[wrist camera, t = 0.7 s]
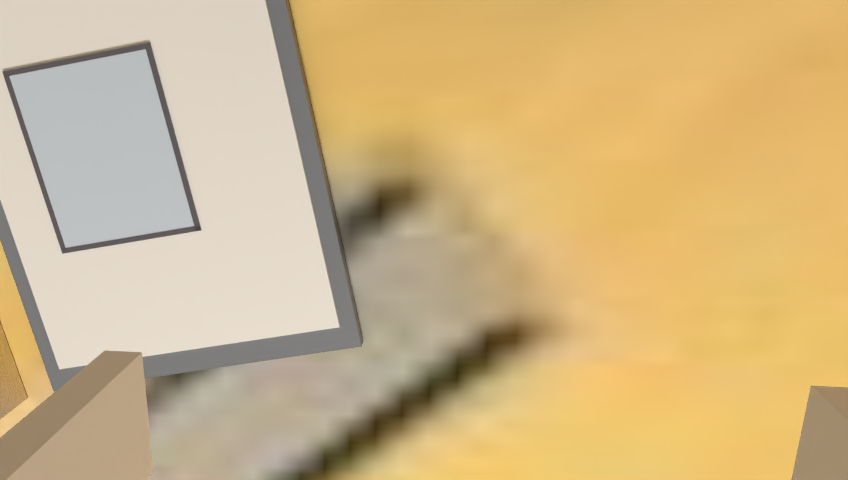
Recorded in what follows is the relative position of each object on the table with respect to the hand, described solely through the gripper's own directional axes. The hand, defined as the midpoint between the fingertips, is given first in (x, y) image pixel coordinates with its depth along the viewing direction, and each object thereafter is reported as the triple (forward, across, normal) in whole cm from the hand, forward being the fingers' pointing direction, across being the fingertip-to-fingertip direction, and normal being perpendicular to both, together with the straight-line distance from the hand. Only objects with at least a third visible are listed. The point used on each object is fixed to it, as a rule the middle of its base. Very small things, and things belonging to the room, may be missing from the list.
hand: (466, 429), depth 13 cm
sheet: (+26, -18, +2) cm, 32 cm away
